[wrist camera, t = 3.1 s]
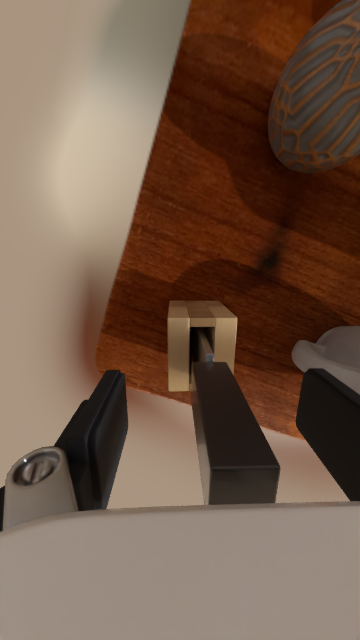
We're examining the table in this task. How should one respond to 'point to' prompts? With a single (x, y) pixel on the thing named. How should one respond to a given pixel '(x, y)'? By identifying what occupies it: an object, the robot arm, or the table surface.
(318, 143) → the vase
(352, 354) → the mug
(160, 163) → the table surface
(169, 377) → the knife block
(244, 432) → the knife
